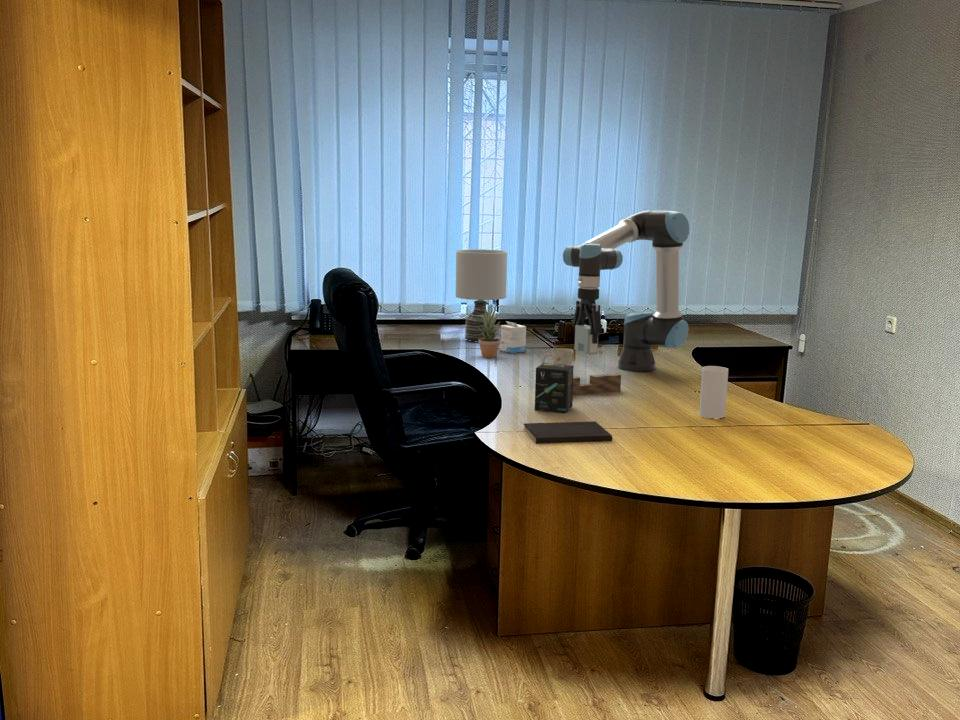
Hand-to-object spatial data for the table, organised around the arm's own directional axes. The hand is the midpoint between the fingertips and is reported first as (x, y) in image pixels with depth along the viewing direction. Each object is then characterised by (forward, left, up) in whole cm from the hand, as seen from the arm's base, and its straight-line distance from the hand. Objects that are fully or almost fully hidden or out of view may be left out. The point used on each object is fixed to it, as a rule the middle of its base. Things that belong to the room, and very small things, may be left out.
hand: (585, 349), depth 317 cm
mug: (-4, -31, -16) cm, 35 cm away
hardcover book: (+31, +48, -17) cm, 59 cm away
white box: (-7, -82, -16) cm, 84 cm away
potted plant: (+8, -74, -16) cm, 76 cm away
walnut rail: (0, 0, -16) cm, 16 cm away
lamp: (-3, -113, -16) cm, 114 cm away
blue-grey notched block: (0, 0, -1) cm, 1 cm away
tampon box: (+21, +18, -16) cm, 32 cm away
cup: (-25, +42, -16) cm, 52 cm away
